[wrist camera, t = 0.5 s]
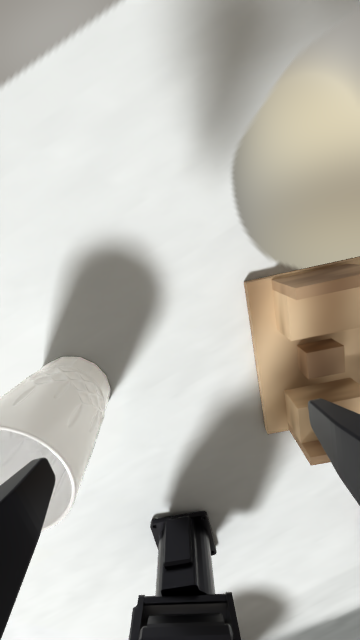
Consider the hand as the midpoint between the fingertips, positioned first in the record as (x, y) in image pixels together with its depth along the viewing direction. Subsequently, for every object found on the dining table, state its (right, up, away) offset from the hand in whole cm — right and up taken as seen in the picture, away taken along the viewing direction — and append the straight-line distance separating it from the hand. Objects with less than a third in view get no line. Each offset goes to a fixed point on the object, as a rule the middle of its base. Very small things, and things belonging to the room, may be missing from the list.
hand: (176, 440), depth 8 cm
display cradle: (+12, +1, +14) cm, 19 cm away
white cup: (-10, -2, +15) cm, 18 cm away
